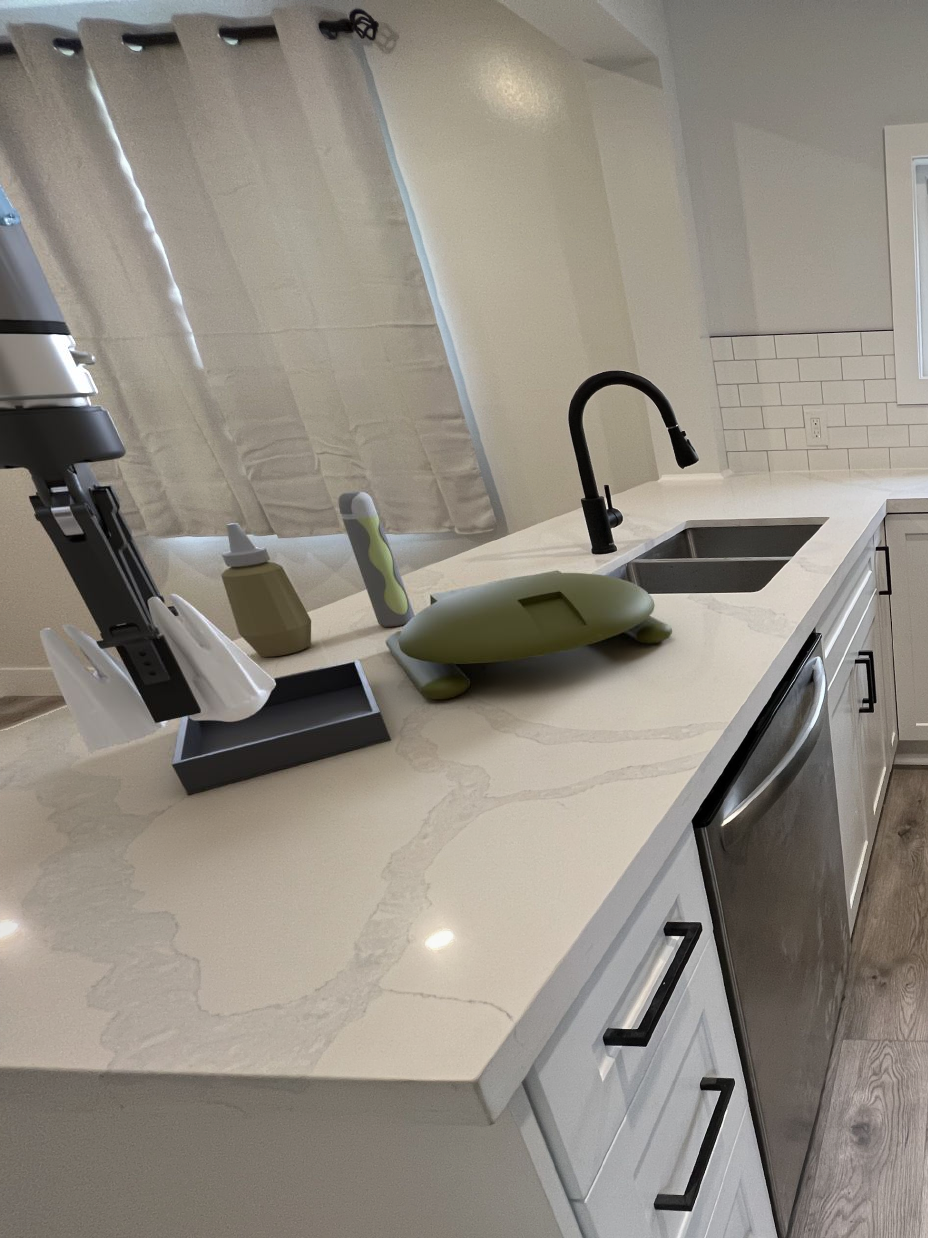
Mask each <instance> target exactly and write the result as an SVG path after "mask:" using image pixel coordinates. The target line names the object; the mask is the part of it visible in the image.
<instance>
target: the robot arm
mask: <svg viewBox="0 0 928 1238" xmlns="http://www.w3.org/2000/svg"><path fill="white" fill-rule="evenodd" d="M22 222H23V221H22V216H21V214H20V212H19V211H18V210H17V209H16V208H15V207H13V204H12V203H11V201H10V199H9V198H8V196H7V194H6V192H5V190H4V188H3V186H2V184H0V470H11V469H21V468H22V469H26V470H27V471H28V473H29V474H30V476H31V480H32V482H33V485H34V487H35V490H36V492H35V494H33V495H28V499H29V502H30V505H31V506H32V508H33V511H34V514H33V515H34V518H35V520H36V521H37V522H39V523H40V525H41V527H42V528H43V530H44V531H45V533H46V534H47V536H48V537H49V539H50V540H51V542H52V544H53V545H54V547H55V550H56V551H57V553H58V555H59V556H60V559H61V560H62V563H63V565H64V567H65V568H66V571H67V572H68V574H69V575H70V577H71V580H72V581H73V583H74V585H75V587H76V589H77V591H78V593H79V595H80V596H81V598H82V600H83V602H84V604H85V606H86V608H87V609H88V612H89V614H90V615H91V617H92V619H93V621H94V623H95V625H96V627H97V628H98V630H99V632H100V633H99V636H100V637H101V640H95V641H96V642H97V644H98V646H99V647H100V648H101V649H111V648H115V649H116V652H117V653H118V655H119V657H120V660H121V661H122V662H123V663H124V665H125V667H126V668H127V670H128V672H129V674H130V676H131V678H132V680H133V682H134V684H135V686H136V687H137V689H138V691H139V693H140V695H141V697H142V699H143V701H144V703H145V704H146V706H147V708H148V710H149V712H150V714H151V716H152V718H153V720H154V722H155V723H159V722H163V721H167V720H170V721H172V720H176V719H181V717H185V716H189V715H194V714H198V713H201V709H200V707H199V705H198V703H197V701H196V699H195V697H194V695H193V693H192V691H191V689H190V687H189V685H188V683H187V681H186V679H185V677H184V675H183V673H182V671H181V668H180V666H179V664H178V662H177V660H176V658H175V656H174V654H173V652H172V650H171V648H170V646H169V644H168V642H167V640H166V638H165V636H164V635H161V636H159V634H160V632H159V629H158V628H156V627H155V625H154V622H153V620H152V617H151V614H150V610H149V606H148V600H149V599H150V598H151V597H158V598H159V599H160V600H161V601H162V602H163V603H164V604H165V605H166V600H165V597H164V596H163V595H161V593H160V592H159V589H158V587H157V585H156V582H155V580H154V578H153V577H152V575H151V572H150V570H149V568H148V566H147V564H146V562H145V560H144V558H143V556H142V554H141V552H140V550H139V548H138V545H137V543H136V542H135V541H136V540H134V537H133V531H132V529H131V528H130V526H129V524H128V522H127V520H126V518H125V516H124V515H123V513H122V511H121V509H120V508H121V499H120V498H119V496H118V494H117V493H116V490H115V488H114V487H113V485H111V484H107V485H101V484H100V481H99V480H98V478H97V477H96V475H95V473H94V471H93V470H92V468H91V466H90V465H89V464H88V463H97V462H105V461H106V462H107V461H113V460H119V459H121V458H123V457H125V455H126V454H127V449H126V446H125V444H124V442H123V440H122V437H121V436H120V434H119V432H118V429H117V427H116V425H115V423H114V421H113V418H112V417H111V414H110V413H109V410H108V409H104V408H103V406H102V405H92V403H91V401H90V398H89V397H96V396H97V395H98V393H99V391H98V389H97V387H96V385H95V383H94V380H93V378H92V376H91V374H90V371H88V370H87V369H85V368H84V367H83V366H94V365H96V364H97V359H96V356H95V355H93V354H92V352H91V351H89V350H84V349H83V350H80V349H79V350H78V349H77V350H76V349H75V348H76V345H77V344H76V342H75V340H74V339H73V337H72V336H71V335H72V333H71V331H70V329H69V326H68V325H67V322H66V319H65V317H64V314H63V313H62V310H61V308H60V306H59V303H58V302H57V299H56V297H55V295H54V292H53V291H52V288H51V286H50V284H49V282H48V279H47V277H46V275H45V272H44V270H43V269H42V266H41V263H40V262H39V261H40V260H38V257H37V255H36V253H35V251H34V248H33V246H32V244H31V241H30V239H29V237H28V234H27V232H26V230H25V228H24V226H23V224H22ZM166 607H167V608H168V609H169V610H170V611H171V612H172V613H173V615H174V616H175V617H179V616H180V615H179V613H178V612H177V610H176V609H175V607H174V606H173V605H170V606H166Z"/></svg>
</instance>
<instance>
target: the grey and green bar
mask: <svg viewBox="0 0 928 1238" xmlns="http://www.w3.org/2000/svg"><path fill="white" fill-rule="evenodd" d="M337 502H338V508H339V514H341V516H342V522H343V526H344V528H345V531H346V534H347V537H348V540H349V543H350V546H351V549H352V552H353V555H354V556H355V557H354V558H355V561H356V563H357V565H358V568H359V572H360V574H361V577H362V580H363V583H364V586H365V589H366V592H367V595H368V597H369V600H370V604H371V606H372V609H373V612H374V615H375V618H376V621H377V623H378V626H381V627H384V628H394V627H400V626H405V625H406V624H407V623H408V622H409V621H410V620H411V619H412V618H413V617H414V616H415V615H416V614H415V612H414V610H413V607H412V604H411V601H410V597H409V595H408V593H407V590H406V588H405V585H404V582H403V579H402V575H401V573H400V571H399V568H398V565H397V562H396V559H395V557H394V554H393V552H392V548H391V546H390V542H389V540H388V537H387V534H386V532H385V528H384V526H383V524H382V521H381V518H380V516H379V515H378V512H377V510H376V507H375V504H374V501H373V499H372V497H371V496H370V495H369V494H368V493H367V492H363V491H358V490H357V491H356V490H355V491H354V490H353V491H352V490H351V491H346V492H345V491H344V492H343V493H341V494H340V495H339V496H338V500H337Z"/></svg>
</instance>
